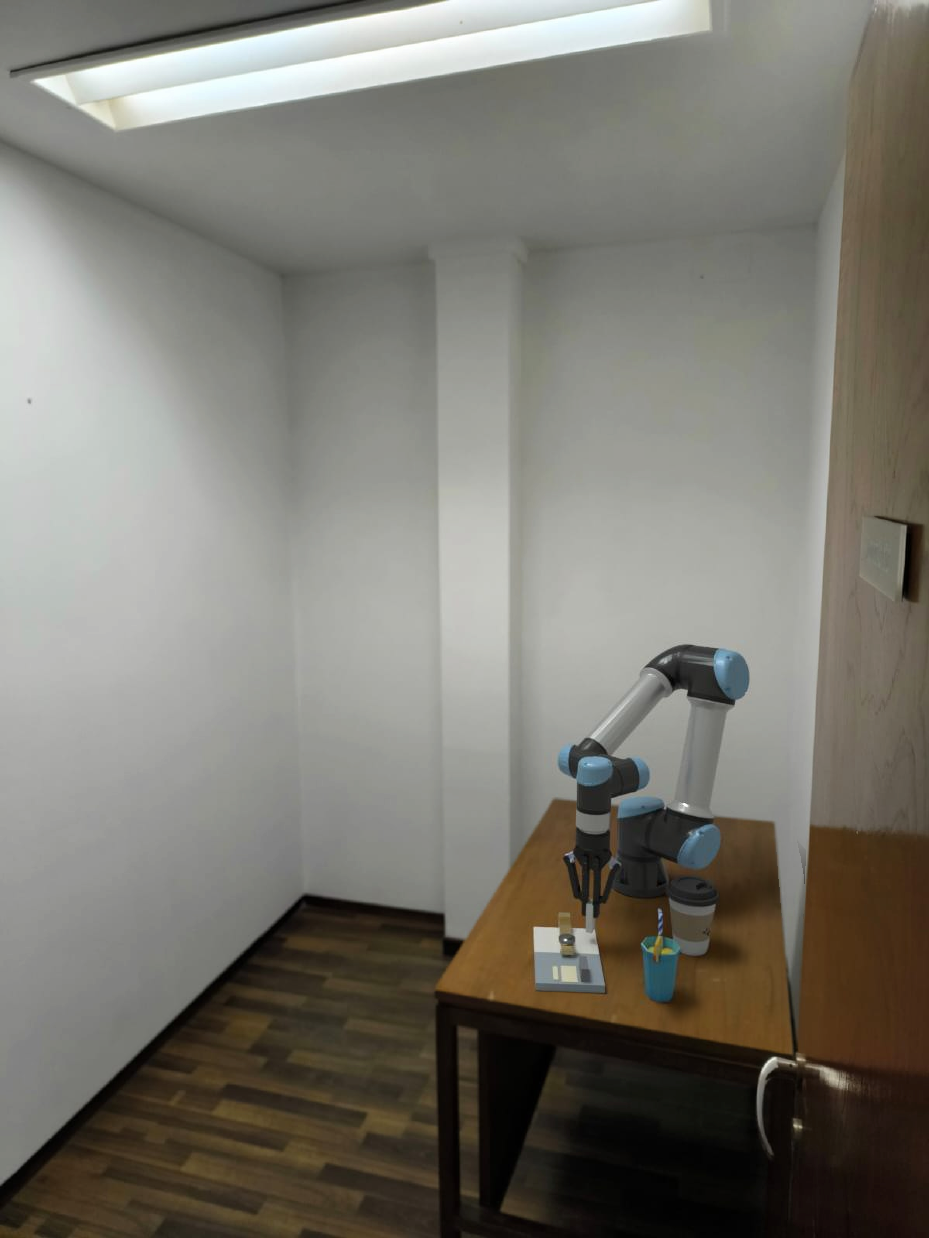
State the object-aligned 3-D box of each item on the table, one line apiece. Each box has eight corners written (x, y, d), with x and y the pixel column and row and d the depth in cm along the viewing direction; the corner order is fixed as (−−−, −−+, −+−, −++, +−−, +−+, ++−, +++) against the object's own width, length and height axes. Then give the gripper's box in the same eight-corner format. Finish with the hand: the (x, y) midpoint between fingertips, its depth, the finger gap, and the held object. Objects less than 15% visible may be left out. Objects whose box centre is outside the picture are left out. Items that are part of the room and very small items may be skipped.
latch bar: (575, 954, 174) (575, 941, 174) (558, 954, 174) (559, 941, 174) (571, 925, 187) (572, 912, 187) (556, 924, 187) (556, 912, 187)
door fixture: (594, 935, 187) (594, 917, 186) (604, 992, 164) (605, 972, 164) (533, 933, 188) (533, 915, 187) (535, 990, 165) (535, 969, 164)
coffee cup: (710, 966, 174) (713, 899, 172) (658, 952, 179) (660, 888, 178) (722, 942, 184) (724, 879, 182) (672, 930, 189) (674, 868, 187)
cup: (639, 971, 172) (641, 904, 170) (677, 975, 170) (679, 907, 169) (639, 1009, 158) (641, 937, 156) (680, 1014, 157) (683, 941, 155)
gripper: (625, 826, 179) (622, 927, 182) (568, 818, 184) (565, 917, 187) (619, 838, 173) (616, 943, 175) (559, 829, 177) (557, 932, 180)
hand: (590, 929), depth 181 cm, fingers closed
